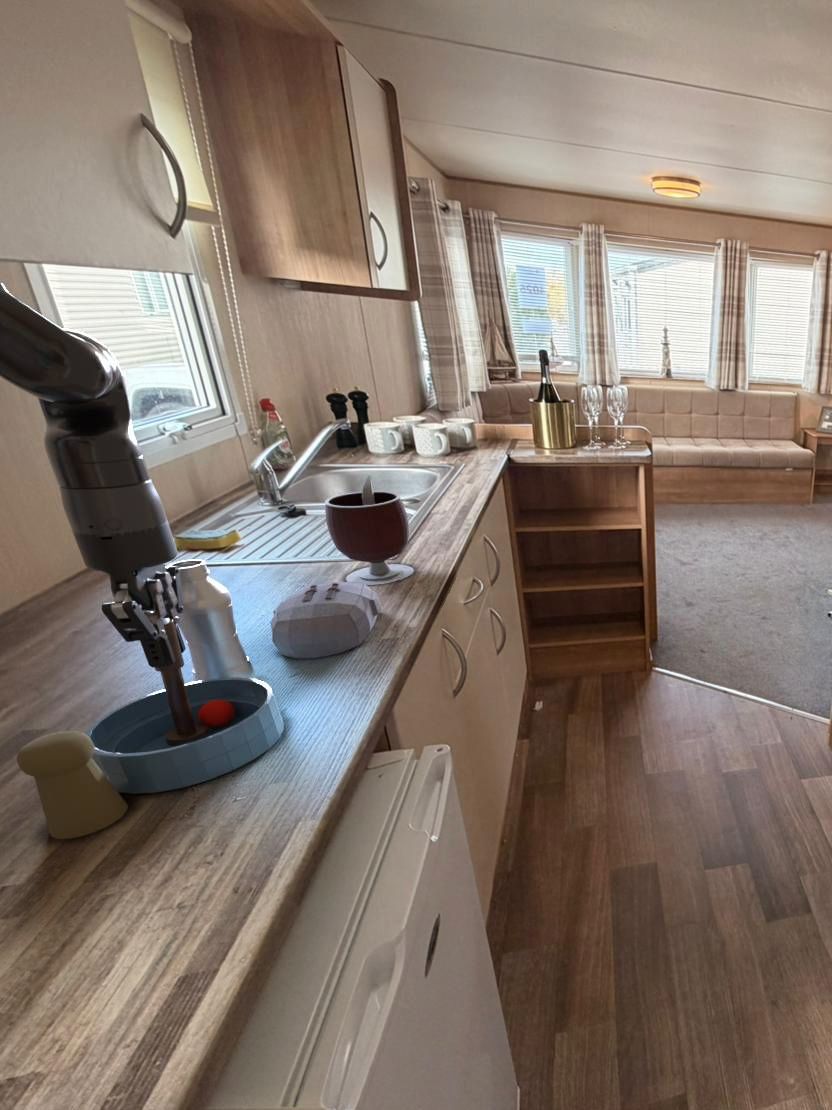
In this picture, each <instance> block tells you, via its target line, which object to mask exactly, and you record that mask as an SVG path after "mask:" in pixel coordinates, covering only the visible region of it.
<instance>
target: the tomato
mask: <svg viewBox="0 0 832 1110" xmlns="http://www.w3.org/2000/svg"><path fill="white" fill-rule="evenodd" d="M234 715H235V709H234V707H233V706H232V705H231V704H230V703H229V702H227V701H223V700H214V701H210V702H208V703H206V704H205V705H203V706H202V707H201V708H200V710H199V712H198V718H199V721H200V722H201V723H202V724H205V725H207V727H212V728H217V727H222V726H224V725H226V724H228V723H229V722H230V721H231V720H232V719H233V718H234Z"/></svg>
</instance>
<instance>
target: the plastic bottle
mask: <svg viewBox="0 0 832 1110" xmlns="http://www.w3.org/2000/svg"><path fill="white" fill-rule="evenodd" d="M170 566H178V568H179V570H180V579H181V588H182V598H183V607H184V612H183V613H179V614H178V615H179V617H180V622H179V623H178V627H179V630H180V633H181V635H182V637H183V638H184V639H183V640H185V643H186V646H187V648H188V652H189V656H190V660H191V664H192V675H193V676H192V677H193V682H196V681H203V680H210V679H217V678H236V677H239V678H250V679H256V678H257V677H256V668H255V666H254V664H253V663H252V660H251V659H250V657H249V656H248V655H247V653H246V651H245V648H244V646H243V644H242V641H241V640H240V637H239V634H238V630H237V625H236V622H235V621H236V620H235V615H234V606H233V597H232V594H231V593H230V591H229V590H228V588H226V587H225V586H224V585H223V584H221V583H219V582H218V581H216V580H214V579H212V578H211V577H209V576H211V572H210V570H209V569H208V566H207V563H206V561H205V560H203V559H185V560H181V561H177V562H173V563H170V564H169V565H167V567H170ZM256 680H257V679H256Z"/></svg>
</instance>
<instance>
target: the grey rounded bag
mask: <svg viewBox="0 0 832 1110" xmlns="http://www.w3.org/2000/svg"><path fill="white" fill-rule="evenodd" d="M377 593H378V592H377V591H374V590H373V589H372V588H370V587H369V585H365V584H364V583H359V582H347V581H333V582H325V583H318V584H312V585H309V586H306V587H303V588H300V589H299V590H297V591H295V592H294V593H292V594H291V595H290V596H289V597H287V598H286V599H285V600H284V601H281V602H280V603H278V605H277V606H276V608H275V609H274V610H273V611H272V612H273V616H272V618H271V620H270V622H269V623H270V626H271V633H272V635H271V636H272V640H271V642H272V643H273V645H274V646H275V647H276V648H277V650H278V651H279V653H280V654H281V656H285V657H289V658H293V659H299V660H300V659H316V658H318V659H319V658H323V657H328V656H333V655H337V654H342V653H344V652H347V651H349V650H351V649H354V648H356V647H359V646H361V644H362V643H363V642H364V640H365V639H366V637H368V635H369V634H370V633H371V631H372V629H373V627H374V625H375V623H376V621H377V616H378V615H379V614H380V611H381V602H380V599H379V597H378V596H379V595H378V594H377Z"/></svg>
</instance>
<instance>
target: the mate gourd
mask: <svg viewBox="0 0 832 1110" xmlns="http://www.w3.org/2000/svg"><path fill="white" fill-rule="evenodd" d="M372 483H373V482H372V476H371V475H366V478H365V480H364V482H363V485H362V491H355V492H348V493H343V494H338V495H334V496H331V497H328V498H327V499H325V500H324V504H325V508H324V514H325V521H326V525H327V529H328V533H329V536H330V538H331V540H332V542H333V545H334V546H335V548H336V550H337V551H339V552H340V553H341V554H342V555H344V556H345V557H347V558H348V560H349V559H350V560H351V561H358V562H362V563H363V562H364V563H370V564H369V566H367V567H364V568H360V569H357V570H355V571H353V572H351V573H349V574H348V575H347V576H346V578H345V582H359V583H364V584H365V585H367V586H377V585H378V586H379V585H385V584H390V583H395V582H398V581H402V580H404V579H407V578H408V577H410V576H411V575H413V573H414V572H415V570H414V567H412V566H410V565H405V564H398V563H397V564H396V563H393V564H392V563H391V564H388V563H387V562H386V561H387V560H389V559H392V558H394V557H396V556H398V555H400V554H401V553H403V551H404V550H405V548H406V547H407V544H408V543H409V540H410V539H409V537H410V523H409V519H408V514H407V511H406V508H405V505H404V502H403V500H402V499H401V495H400V494H399V493H397V492H393V491H386V490H385V491H384V490H374V486H373V484H372Z"/></svg>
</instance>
